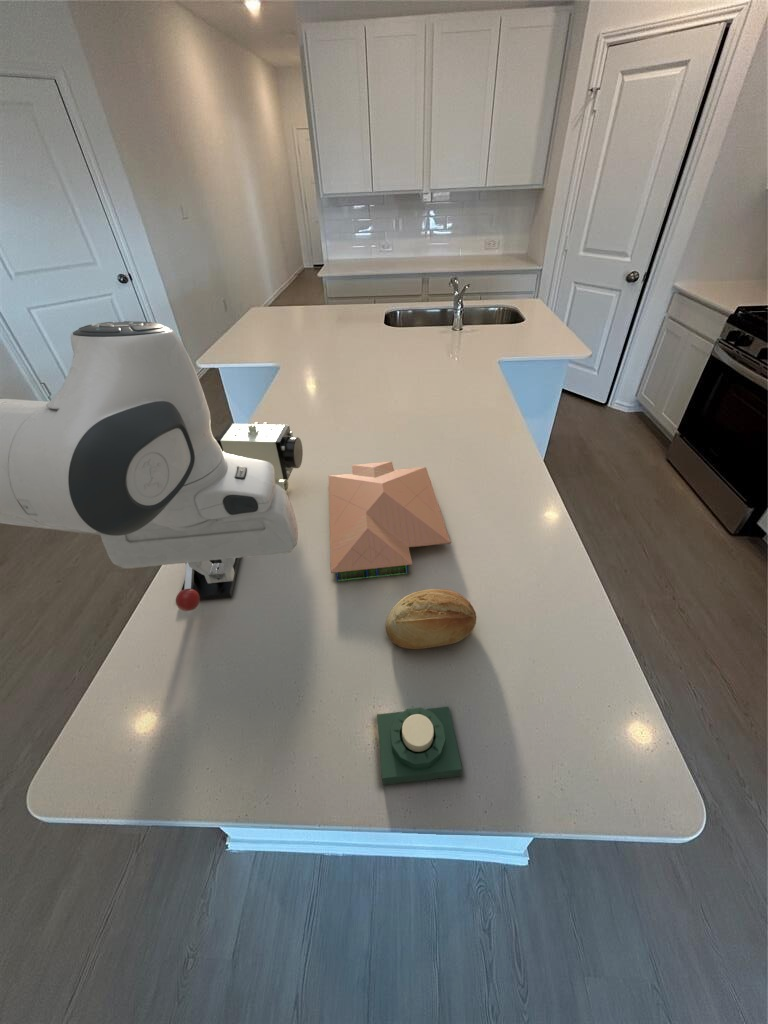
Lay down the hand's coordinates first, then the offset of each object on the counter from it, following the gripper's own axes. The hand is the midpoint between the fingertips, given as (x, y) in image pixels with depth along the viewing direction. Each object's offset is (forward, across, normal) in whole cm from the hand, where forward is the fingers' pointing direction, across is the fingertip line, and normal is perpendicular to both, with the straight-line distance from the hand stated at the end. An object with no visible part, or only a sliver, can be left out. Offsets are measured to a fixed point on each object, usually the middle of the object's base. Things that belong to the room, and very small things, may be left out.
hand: (221, 578), depth 53 cm
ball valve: (+22, -3, +47) cm, 52 cm away
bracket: (+22, -11, +22) cm, 33 cm away
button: (+18, +22, -14) cm, 32 cm away
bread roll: (+22, +28, +4) cm, 35 cm away
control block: (+22, +22, -14) cm, 34 cm away
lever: (+15, -11, +17) cm, 25 cm away
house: (+22, +23, +33) cm, 46 cm away
